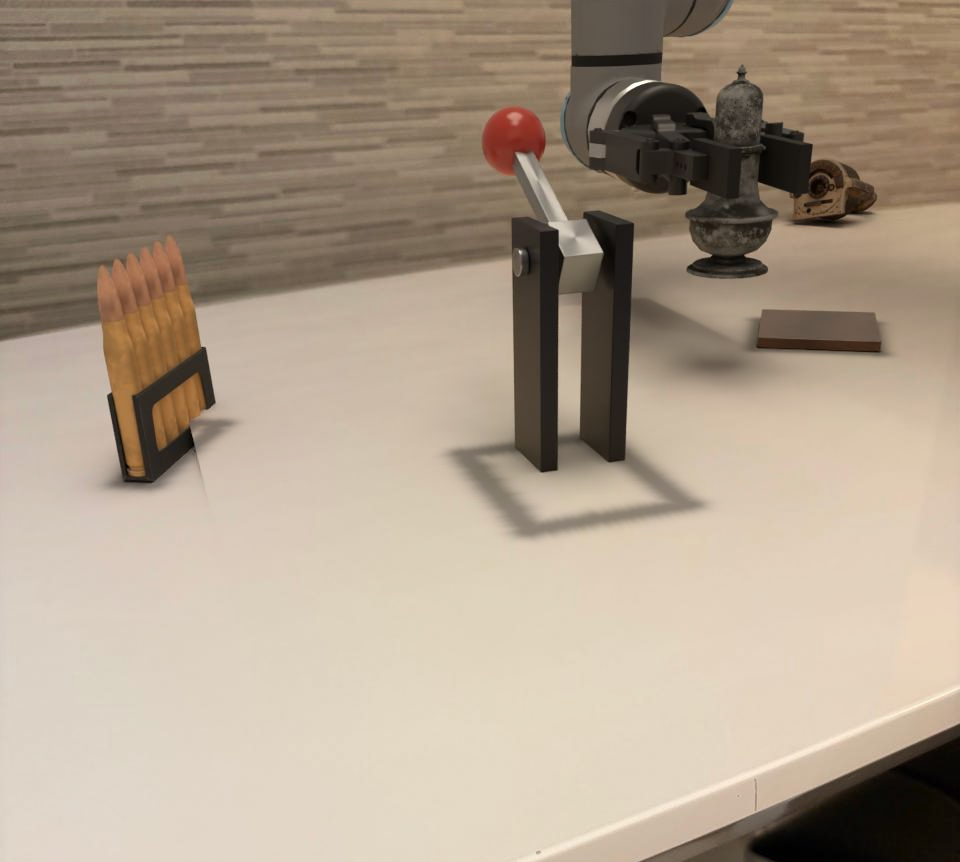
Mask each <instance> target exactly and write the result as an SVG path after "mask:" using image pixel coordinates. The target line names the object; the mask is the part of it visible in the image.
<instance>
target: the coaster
mask: <svg viewBox="0 0 960 862" xmlns="http://www.w3.org/2000/svg"><path fill="white" fill-rule="evenodd" d="M881 337H882V336H881V333H880V329H879V324H878V320H877V316H876V312H873V311H839V310H838V311H837V310H809V309H808V310H806V309H805V310H804V309H773V308H772V309H771V308H770V309H769V308H763V309H761V313H760V321H759V329H758V335H757V348H766V349H768V348H769V349H797V350H821V351H822V350H823V351H848V352H849V351H851V352H881V349H882V344H883V343H882V338H881Z"/></svg>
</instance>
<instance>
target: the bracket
mask: <svg viewBox="0 0 960 862" xmlns="http://www.w3.org/2000/svg"><path fill="white" fill-rule="evenodd" d="M582 219H587V221H588V223H589V225H590V227H591V229H592V231H593V233H594V235H595V236H596V238H597V240H598V242H599V244H600V246H601V248H602V250H603V252H604V256H603V260H602V264H601V268H600V272H599V276H598V280H597V284H596V288H595V291H592V292H582V293H581V321H580V322H581V329H580V331H581V333H580V334H581V335H580V389H579V390H580V391H579V392H580V395H579V396H580V397H579V400H580V401H579V439H580V440H582V441H583V442H584V443H585V444H586V445H588V446H589V447H590V448H591V449H592V450H593V451H595V452H596V453H597V454H598V455H599V456H601V457H602V458H603V459H604V460H605V461H606V462H608V463H614V462H622V461H626V446H627V424H628V423H627V421H628V399H629V398H628V397H629V372H630V371H629V369H630V345H631V344H630V343H631V342H630V341H631V321H632V320H631V317H632V290H633V267H634V266H633V264H634V243H635V242H634V239H635V223H634V222H632V221H629V220H627V219H624V218H621V217H619V216H616V215H613V214H610V213H608V212H605V211H602V210H599V209H598V210H597V209H596V210H587V211H583V213H582ZM510 225H511V270H512V271H511V282H512V283H511V284H512V286H511V287H512V290H511V291H512V338H513V340H512V343H513V348H512V349H513V351H512V352H513V353H512V354H513V399H514V400H513V403H514V404H513V405H514V406H513V409H514V411H513V413H514V415H513V416H514V448H515V449H516V450H518V451H519V453H520V454H521V455H523V456H524V457H525V459H527V461H528V462H530V463H531V464H532V465H533V467H534V468H535V469H537V470H538V471H539V473H543V474H544V473H550V472H556V471H558V470H559V465H558V464H559V313H560V312H559V311H560V310H559V308H560V307H559V305H560V304H559V303H560V302H559V301H560V300H559V299H560V297H559V296H560V295H559V230H558V229H556V228H553V227H551V226H549V225H547V224H544V223H542V222H540V221H538V220H537V219H536V218H532V217H530V216H527V215H526V216H517V217H512V218H511V224H510Z"/></svg>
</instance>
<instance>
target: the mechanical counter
mask: <svg viewBox="0 0 960 862" xmlns="http://www.w3.org/2000/svg"><path fill="white" fill-rule="evenodd" d="M788 193H789V192H788ZM789 198H790V199H793V215H792V217H793V222H801V221H807V220H813V219H819V220H823V221H831V222H834V221H837V220H841V219H843V218H845V217H846V216H848V215H849V214H850V213H861V212H865V211H867V210H869V209H870V208H871V207H872V206H873V205H874V204H875V203H876V201H877V199H878V194H877V193H876V191H875V187H874V185H872V184H870V183H868V182H865V181H863V180H861V178H860V175H859V173H858V172H857V170H855V169H854V168H853V167H851V166H849V165H847V164H845V163H843V162H840V161H837V160H836V159H834V158H830V157H821V158H817V159H815V160H811V167H810V176H809V186H808V194H793V193H789Z"/></svg>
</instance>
